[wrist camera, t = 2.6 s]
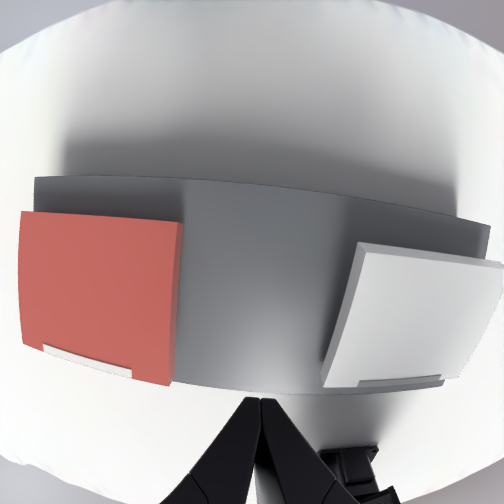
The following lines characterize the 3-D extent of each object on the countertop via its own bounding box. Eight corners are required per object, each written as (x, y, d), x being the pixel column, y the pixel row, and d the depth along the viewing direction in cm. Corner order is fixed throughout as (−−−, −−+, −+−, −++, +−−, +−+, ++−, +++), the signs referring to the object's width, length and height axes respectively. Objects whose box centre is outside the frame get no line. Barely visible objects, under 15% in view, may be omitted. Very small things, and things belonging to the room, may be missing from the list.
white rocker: (451, 366, 15) (458, 378, 14) (320, 372, 15) (323, 388, 14) (499, 261, 12) (511, 270, 11) (357, 241, 12) (366, 252, 11)
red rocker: (174, 376, 14) (168, 387, 13) (34, 338, 14) (22, 343, 13) (183, 223, 14) (177, 222, 12) (33, 212, 14) (20, 211, 12)
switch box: (420, 360, 20) (446, 391, 16) (75, 326, 20) (43, 353, 16) (457, 218, 18) (498, 227, 13) (68, 176, 18) (26, 177, 13)
